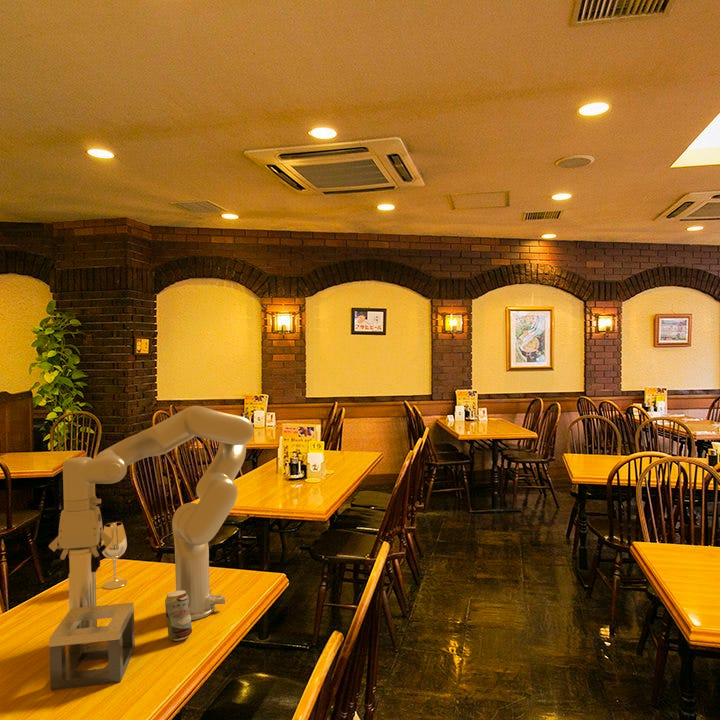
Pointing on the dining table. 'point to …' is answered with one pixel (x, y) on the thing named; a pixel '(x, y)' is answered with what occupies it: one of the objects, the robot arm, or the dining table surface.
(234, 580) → the dining table surface
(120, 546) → the wineglass
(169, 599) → the beverage can
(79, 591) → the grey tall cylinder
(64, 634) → the collar stand
